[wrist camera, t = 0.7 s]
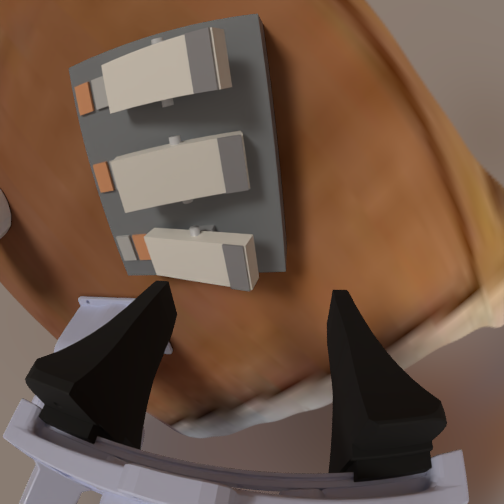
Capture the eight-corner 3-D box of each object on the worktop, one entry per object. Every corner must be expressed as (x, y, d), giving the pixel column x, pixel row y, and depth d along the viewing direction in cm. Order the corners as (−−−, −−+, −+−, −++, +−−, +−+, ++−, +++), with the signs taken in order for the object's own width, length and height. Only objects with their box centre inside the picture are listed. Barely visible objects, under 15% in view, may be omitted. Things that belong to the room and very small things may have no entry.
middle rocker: (131, 210, 17) (126, 220, 16) (114, 150, 15) (107, 155, 14) (248, 188, 17) (251, 196, 16) (239, 123, 15) (242, 126, 14)
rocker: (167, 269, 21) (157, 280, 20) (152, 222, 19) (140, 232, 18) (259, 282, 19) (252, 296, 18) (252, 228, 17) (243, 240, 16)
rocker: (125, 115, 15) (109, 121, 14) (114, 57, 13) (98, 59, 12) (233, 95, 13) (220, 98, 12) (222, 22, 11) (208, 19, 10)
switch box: (143, 252, 25) (125, 279, 22) (95, 65, 16) (63, 68, 13) (286, 246, 23) (285, 277, 20) (262, 23, 15) (256, 11, 11)
